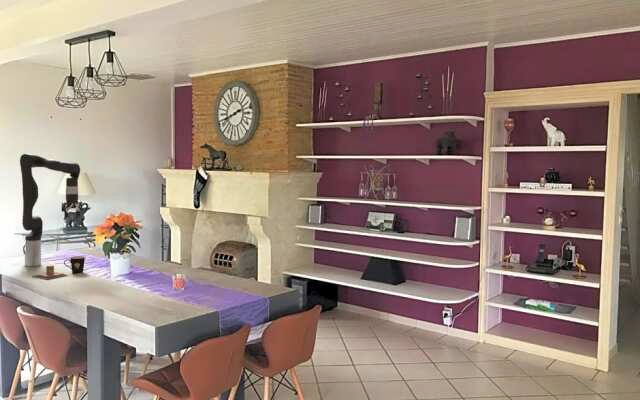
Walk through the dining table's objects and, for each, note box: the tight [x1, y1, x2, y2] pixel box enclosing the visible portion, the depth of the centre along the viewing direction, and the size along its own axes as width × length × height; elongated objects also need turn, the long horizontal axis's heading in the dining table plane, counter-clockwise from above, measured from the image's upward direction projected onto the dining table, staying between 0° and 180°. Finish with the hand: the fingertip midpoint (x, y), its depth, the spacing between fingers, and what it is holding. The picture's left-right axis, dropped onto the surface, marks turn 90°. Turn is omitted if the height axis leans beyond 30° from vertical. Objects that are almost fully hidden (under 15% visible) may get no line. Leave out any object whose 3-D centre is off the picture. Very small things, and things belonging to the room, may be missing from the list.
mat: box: [31, 273, 68, 281], centre depth 328 cm, size 14×14×1 cm
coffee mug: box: [63, 255, 86, 275], centre depth 341 cm, size 12×9×10 cm
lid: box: [36, 264, 65, 278], centre depth 328 cm, size 11×11×6 cm
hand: (72, 217), depth 352 cm, fingers open, 8 cm apart
